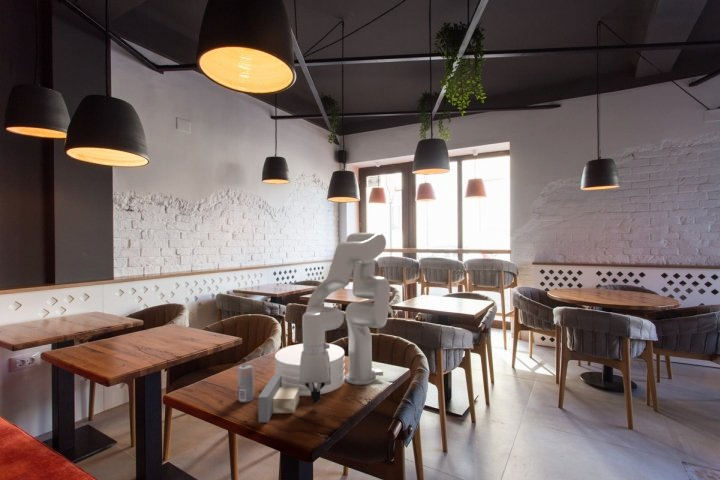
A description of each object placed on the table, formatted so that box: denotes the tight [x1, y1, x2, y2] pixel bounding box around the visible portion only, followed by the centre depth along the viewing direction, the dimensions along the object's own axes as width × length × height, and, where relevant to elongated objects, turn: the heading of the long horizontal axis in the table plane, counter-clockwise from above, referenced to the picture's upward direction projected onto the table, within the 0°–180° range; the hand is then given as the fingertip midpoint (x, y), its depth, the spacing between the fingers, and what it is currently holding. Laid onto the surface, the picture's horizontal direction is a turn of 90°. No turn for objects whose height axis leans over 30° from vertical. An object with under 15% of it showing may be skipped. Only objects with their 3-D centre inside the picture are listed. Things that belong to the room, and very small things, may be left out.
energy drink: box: [237, 363, 255, 403], centre depth 128 cm, size 5×5×12 cm
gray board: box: [257, 374, 282, 423], centre depth 121 cm, size 3×18×8 cm, turn 179°
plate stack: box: [274, 342, 346, 397], centre depth 144 cm, size 28×28×12 cm
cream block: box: [273, 387, 300, 414], centre depth 122 cm, size 7×9×5 cm
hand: (316, 401), depth 121 cm, fingers closed
